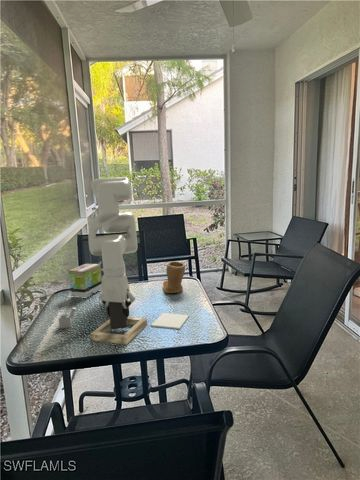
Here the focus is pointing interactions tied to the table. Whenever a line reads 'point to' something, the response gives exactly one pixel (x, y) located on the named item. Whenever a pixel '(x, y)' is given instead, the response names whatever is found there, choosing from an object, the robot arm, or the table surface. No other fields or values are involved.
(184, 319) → the cream mat
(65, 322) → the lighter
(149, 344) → the table surface
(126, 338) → the wooden frame
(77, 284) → the tea box
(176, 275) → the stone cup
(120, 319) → the phone stand
